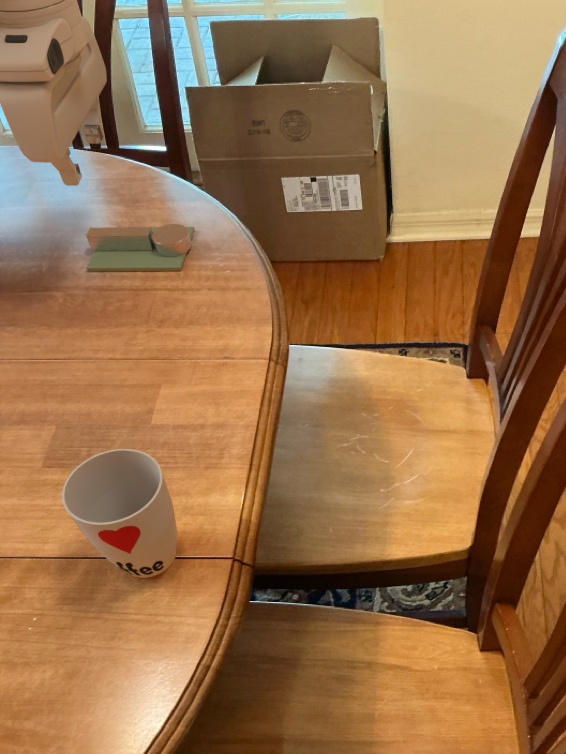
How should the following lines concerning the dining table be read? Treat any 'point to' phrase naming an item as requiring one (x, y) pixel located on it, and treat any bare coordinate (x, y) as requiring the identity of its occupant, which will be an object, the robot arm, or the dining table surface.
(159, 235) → the spoon
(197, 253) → the dining table surface
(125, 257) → the placemat
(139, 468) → the cup
